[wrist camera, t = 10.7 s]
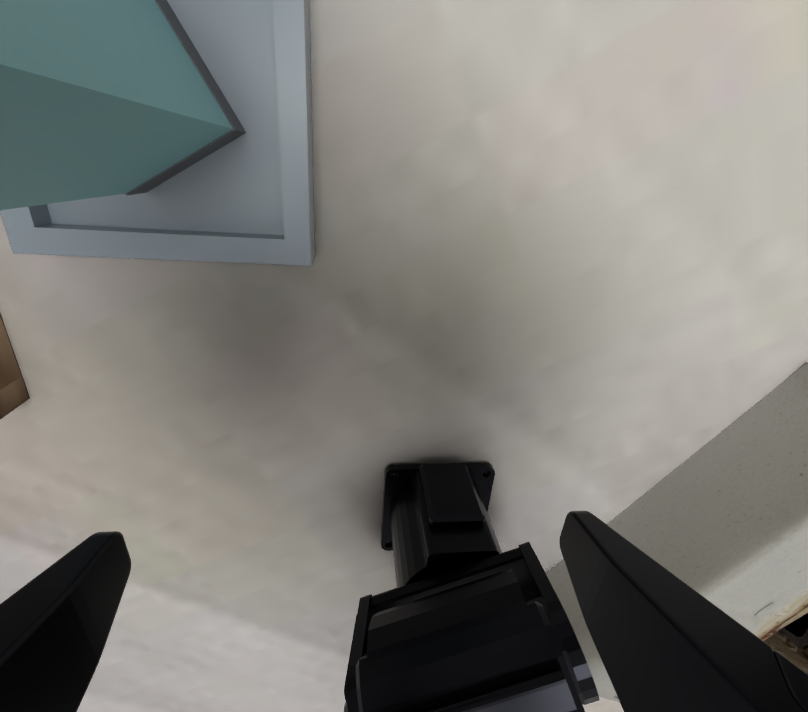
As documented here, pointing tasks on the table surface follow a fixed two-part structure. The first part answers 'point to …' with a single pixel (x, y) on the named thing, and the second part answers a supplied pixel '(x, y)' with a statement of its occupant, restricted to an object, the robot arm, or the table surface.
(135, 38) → the tall teal block
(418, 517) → the robot arm
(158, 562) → the table surface
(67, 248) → the tray
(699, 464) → the box
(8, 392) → the slot rail
